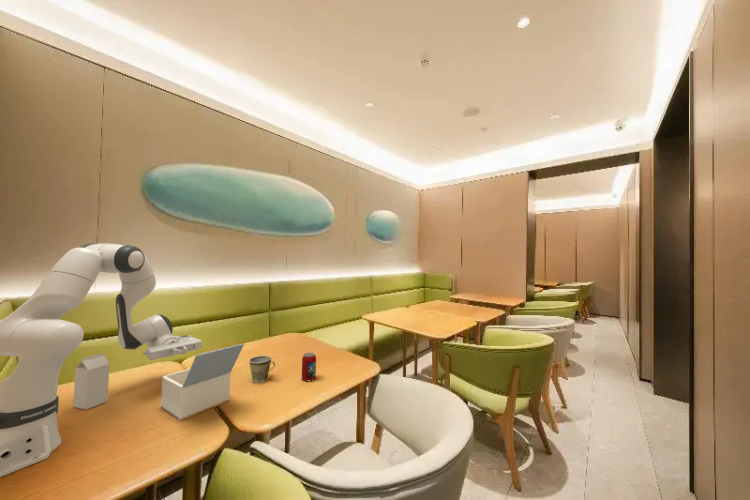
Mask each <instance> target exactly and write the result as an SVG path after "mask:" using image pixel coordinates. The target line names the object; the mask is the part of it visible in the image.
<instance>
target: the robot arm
mask: <svg viewBox="0 0 750 500" xmlns="http://www.w3.org/2000/svg"><path fill="white" fill-rule="evenodd" d="M100 272H102V273H109V274H118V277H119V279H120V282H121V289H120V291H119V294H117V295H116V297H115V312H116V319H117V337H118V338H117V341H118V343H119V345H120V347H122V348H123V349H126V350H136V349H139V348H140V347H141V346H143V345H144V344H146V347H148V348H147V349H146V350H144V351H142V354H143V355H146V358H147V359H148V360H150V361H154V360H159V359H163V358H170V357H173V356H175V355H176V356H177V355H180V356H181V355H185V354H187V353H188V352H193V351H197V350H200V349H202V348H203V340H201V339H199V338H198V337H192V335H172V334H173V331H174V327H173V324H172V322H171V320H170V318H168V317H167V316H165V315H163V314H160V313H156V314H155V315H151V316H150V317H147V318H145V319H143V320H140V321H139V322H136V323H134V324H133V318H132V311H133V309H134V307H135V306H136V305H137V304H138V303H140V302H141V301H142V300H144V299H145V298H146V297H148V296H149V295H150V294H151V293H152V292H153V291H154V290H155V288H156V285H157V284H156V283H157V282H156V281H157V280H156V277H155V273H154V270H153V268H152V265H151V262H150V261H149V259H148V257H147V256H146V254H144V252H143V250H141V248H139V247H136V246H134V245H130V244H125V245H124V244H117V243H116V244H115V243H109V242H107V243H105V242H104V243H98V242H97V243H95V242H93V243H86V244H84V245H81V246H79V247H74V248H71V249H69V250H68V251H67V252H66V253H64V255H62V256H61V257H60V259H58V260H57V262H56V263H55V264H54V265H53V266H52V268H51V269H50V270H49V272H48V273H47V275H46V276H45V277H44V279H42V282H41V283H40V284H39V286H38V287H37V288H36V290H35V291H34V293H32V294H31V296H29V298H28V299H27V300H26V301H24V302H23V303H22V304H21V305H20V306H18V307H17V308H16V309H15V310H14V311H12V312H11V313H10V314H8V315H7V316H5V317H4V318H2V319H0V356H3V357H17V358H18V361H17V363H16V366H15V368H14V370H13V372H12V373H11V374H9V375H7V376H6V377H5V378H4V379H3V380H2V381H1V383H0V478H1V477H4V476H6V475H9V474H11V473H13V472H16V471H19V470H21V469H24V468H26V467H29V466H31V465H33V464H37V463H39V462H41V461H43V460H46V459H48V458H49V457H50V456H51V454H52V452H53V451H54V450H55V449H57V448H58V447H59V446H60V445H61V444H62V441H63V440H62V437H61V435H60V432H59V429H58V428H59V427H58V419H57V418H58V417H57V414H59V413H58V412H59V406H60V404H59V398H60V397H59V395H58V385H59V377H60V372H61V369H62V366H63V364H64V363H65V361H66V359H67V358H68V356H69V355H70V354H71V353H73V352H74V351H76V350H77V349H78V348H79V347H80V345H82V342H83V340H84V334H85V333H84V330H83V327H81V325H79V324H78V323H76V322H75V323H74V322H72V321H68V320H64V319H61V318H62V317H63V316H64V315H65V314H67V313H69V312H70V311H72V310H75V309H77V308H78V307H80V305H81V304H82V303H83V302H84V299H85V298H86V297H87V294H88V293H89V291H90V290H91V288H92V287H93V284H94V283H95V281H96V279H97V278H98V275H99V274H100Z"/></svg>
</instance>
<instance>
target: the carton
mask: <svg viewBox="0 0 750 500" xmlns="http://www.w3.org/2000/svg"><path fill="white" fill-rule="evenodd" d="M189 370H190V368H188V369H184V370H181V371H177V372H173V373H169V374H167V375H166V374H165V375H162V378H161V379H162V381H161V400H160V408H161V410H164V411H165V412H166V413H167V414H169V415H171V416H172V417H174V419H177V420H178V421H180V422H182V421H184V420H186V419H189V418H190V417H191V418H192V417H193V416H196V415H198V413H199V414H201V413H203V412H206V411H208V410H210V409H209V408H211V409H213V408H215V407H218V406H220V405H223V404H225V403H227V402H230V389H231V388H230V385H231V373H228V374H225V375H221V376H218V377H215V378H212V379H209V380H206V381H203V382H200V383H197V384H194V385H191V386H188V387H185V388H183V384H184V382H185V380H186V377H187V375H188V373H189ZM212 407H213V408H212ZM207 409H208V410H207ZM205 410H206V411H205ZM202 411H203V412H202ZM200 412H201V413H200Z"/></svg>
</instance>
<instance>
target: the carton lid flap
mask: <svg viewBox="0 0 750 500" xmlns="http://www.w3.org/2000/svg"><path fill="white" fill-rule="evenodd" d="M244 346H245V343H242V342H241V343H239V344H234V345H230V346H225V347H226V348H225V347H222V348H219V349H215V350H210V351H206V352H201V353H199V354H198V353H197V354H196V355H195V357H194V358H193V361H192V364H191V366H190V368H189V369H190V370H189V373H188V375H187V377H186V380H185V382H184V384H183V388H185V387H188V386H191V385H194V384H197V383H200V382H203V381H206V380H209V379H212V378H215V377H218V376H221V375H225V374H228V373H230V374H231V373H232V371H233V368H234V366H235V365H236V362H237V360H238V359H239V355H240V354H241V352H242V350H243V347H244Z"/></svg>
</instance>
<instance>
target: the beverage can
mask: <svg viewBox="0 0 750 500" xmlns="http://www.w3.org/2000/svg"><path fill="white" fill-rule="evenodd" d="M316 373H317V357H316V354H315V353H314V352H306V353H304V354H303V356H302V359H301V380H302V381H304V380H306V381H305V382H309V381H308V380H312V379H313V380H315V379H316V376H317V375H316ZM314 378H315V379H314ZM313 380H312V381H313Z"/></svg>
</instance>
